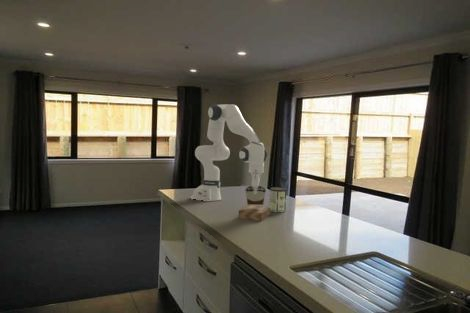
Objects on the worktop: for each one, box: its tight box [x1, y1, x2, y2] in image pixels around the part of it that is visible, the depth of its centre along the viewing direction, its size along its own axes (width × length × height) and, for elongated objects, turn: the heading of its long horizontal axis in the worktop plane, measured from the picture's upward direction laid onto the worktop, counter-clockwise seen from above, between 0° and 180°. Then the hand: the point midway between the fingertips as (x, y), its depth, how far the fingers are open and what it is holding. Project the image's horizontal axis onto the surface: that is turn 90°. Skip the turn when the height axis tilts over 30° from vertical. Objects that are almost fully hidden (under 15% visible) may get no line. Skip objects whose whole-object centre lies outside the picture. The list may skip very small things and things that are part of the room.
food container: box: [244, 185, 267, 206], centre depth 203 cm, size 12×6×10 cm, turn 88°
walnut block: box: [238, 205, 271, 222], centre depth 203 cm, size 14×16×5 cm
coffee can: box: [269, 186, 287, 213], centre depth 220 cm, size 10×10×14 cm
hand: (255, 192), depth 202 cm, fingers closed on food container, 5 cm apart
